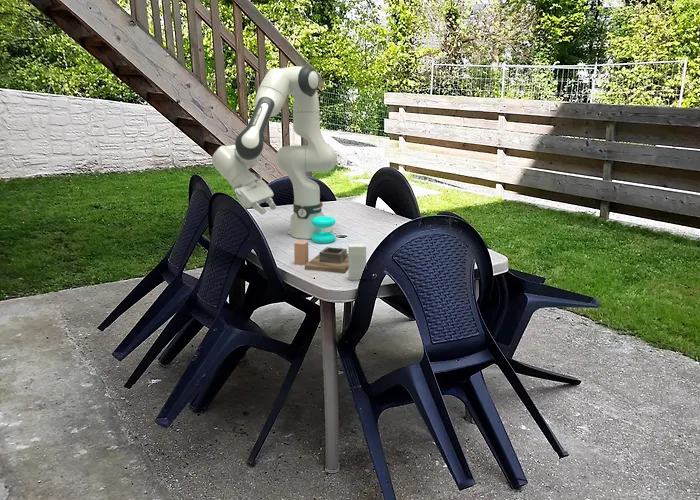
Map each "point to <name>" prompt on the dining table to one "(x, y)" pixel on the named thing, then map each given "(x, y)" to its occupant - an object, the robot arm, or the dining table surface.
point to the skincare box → (356, 260)
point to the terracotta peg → (301, 252)
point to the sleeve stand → (330, 260)
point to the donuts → (323, 236)
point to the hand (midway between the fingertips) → (269, 210)
